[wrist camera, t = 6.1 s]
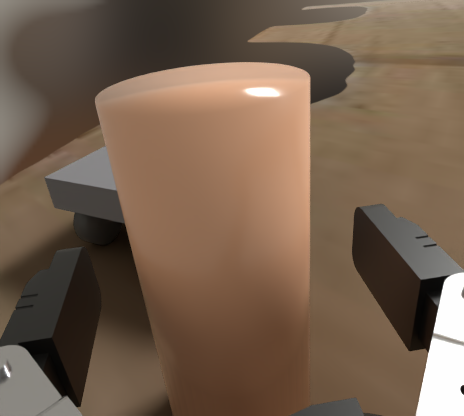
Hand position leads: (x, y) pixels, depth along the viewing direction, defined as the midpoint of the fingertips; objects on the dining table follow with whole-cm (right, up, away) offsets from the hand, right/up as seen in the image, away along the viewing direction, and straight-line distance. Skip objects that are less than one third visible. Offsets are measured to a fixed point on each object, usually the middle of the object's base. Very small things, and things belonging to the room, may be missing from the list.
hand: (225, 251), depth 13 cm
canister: (+1, -6, +3) cm, 7 cm away
